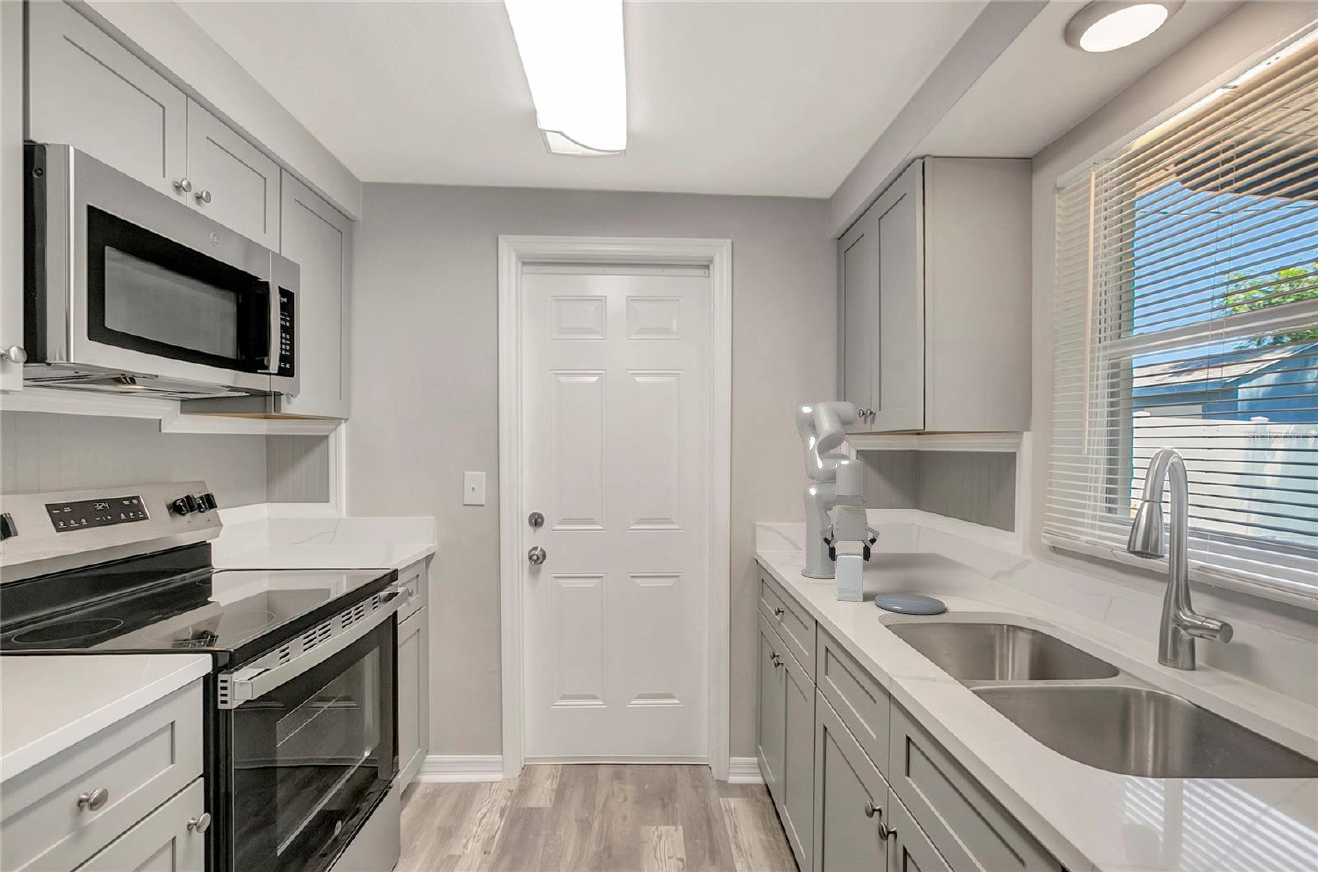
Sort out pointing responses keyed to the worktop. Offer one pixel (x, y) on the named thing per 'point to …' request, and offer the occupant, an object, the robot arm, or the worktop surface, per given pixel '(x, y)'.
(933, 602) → the slate dish
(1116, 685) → the worktop surface
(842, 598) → the supplement box
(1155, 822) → the worktop surface
